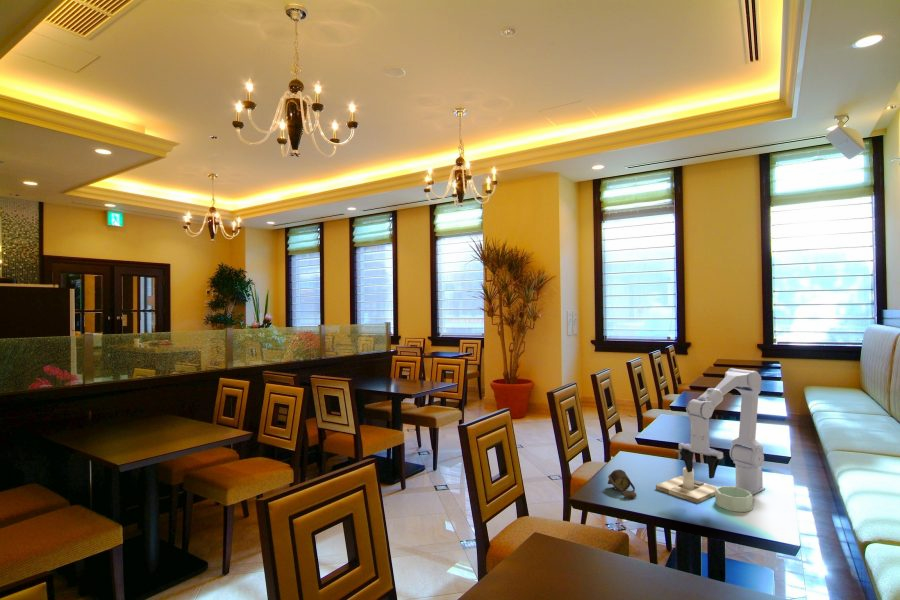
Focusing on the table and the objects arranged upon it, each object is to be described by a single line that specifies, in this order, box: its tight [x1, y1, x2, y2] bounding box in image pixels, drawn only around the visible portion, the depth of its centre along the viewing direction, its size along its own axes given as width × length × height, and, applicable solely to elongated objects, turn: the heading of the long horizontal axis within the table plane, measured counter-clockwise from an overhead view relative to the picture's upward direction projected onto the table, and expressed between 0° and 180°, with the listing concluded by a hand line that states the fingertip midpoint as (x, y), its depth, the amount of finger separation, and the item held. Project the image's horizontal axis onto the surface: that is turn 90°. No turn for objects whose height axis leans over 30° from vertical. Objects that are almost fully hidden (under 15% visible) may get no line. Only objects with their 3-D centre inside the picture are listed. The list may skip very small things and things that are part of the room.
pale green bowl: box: [714, 485, 753, 513], centre depth 172 cm, size 11×11×4 cm
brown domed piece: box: [607, 469, 637, 499], centre depth 185 cm, size 7×13×10 cm
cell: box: [682, 466, 695, 491], centre depth 185 cm, size 4×4×9 cm
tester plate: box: [655, 475, 719, 504], centre depth 185 cm, size 16×16×2 cm
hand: (700, 474), depth 174 cm, fingers open, 7 cm apart
